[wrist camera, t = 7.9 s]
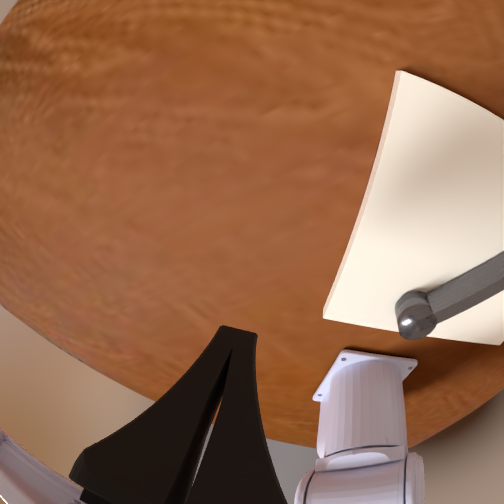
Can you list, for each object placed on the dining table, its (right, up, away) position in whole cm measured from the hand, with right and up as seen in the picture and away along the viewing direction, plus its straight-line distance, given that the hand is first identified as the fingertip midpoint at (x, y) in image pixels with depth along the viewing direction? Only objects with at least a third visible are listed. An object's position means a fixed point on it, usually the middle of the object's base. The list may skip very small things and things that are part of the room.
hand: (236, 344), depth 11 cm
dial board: (+16, +4, +5) cm, 17 cm away
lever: (+16, +2, +5) cm, 17 cm away
